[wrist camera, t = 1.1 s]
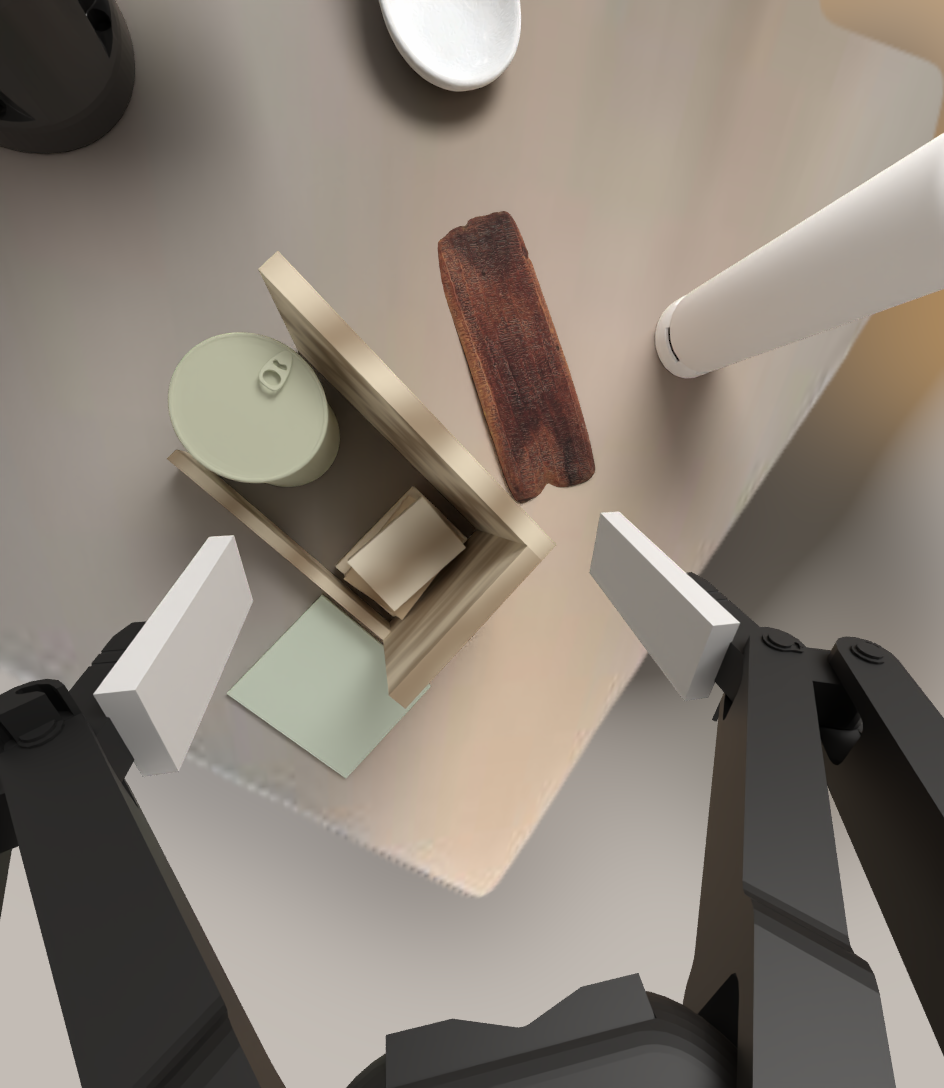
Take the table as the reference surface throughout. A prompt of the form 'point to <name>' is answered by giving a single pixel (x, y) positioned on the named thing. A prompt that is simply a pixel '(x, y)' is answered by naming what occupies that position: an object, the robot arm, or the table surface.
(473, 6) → the spoon rest
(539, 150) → the table surface
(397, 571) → the offcut stack
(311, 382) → the can
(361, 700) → the mat
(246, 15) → the table surface
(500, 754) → the table surface
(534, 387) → the wooden tablet
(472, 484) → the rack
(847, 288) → the bottle
